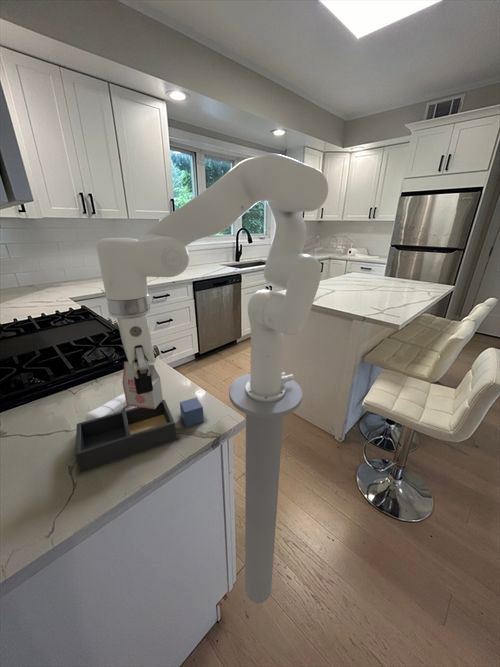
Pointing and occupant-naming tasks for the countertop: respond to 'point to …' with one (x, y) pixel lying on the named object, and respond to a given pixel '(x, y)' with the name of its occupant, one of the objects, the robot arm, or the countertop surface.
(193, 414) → the block
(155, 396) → the white printed box
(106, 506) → the countertop surface
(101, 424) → the sorter
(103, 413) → the unicorn horn
